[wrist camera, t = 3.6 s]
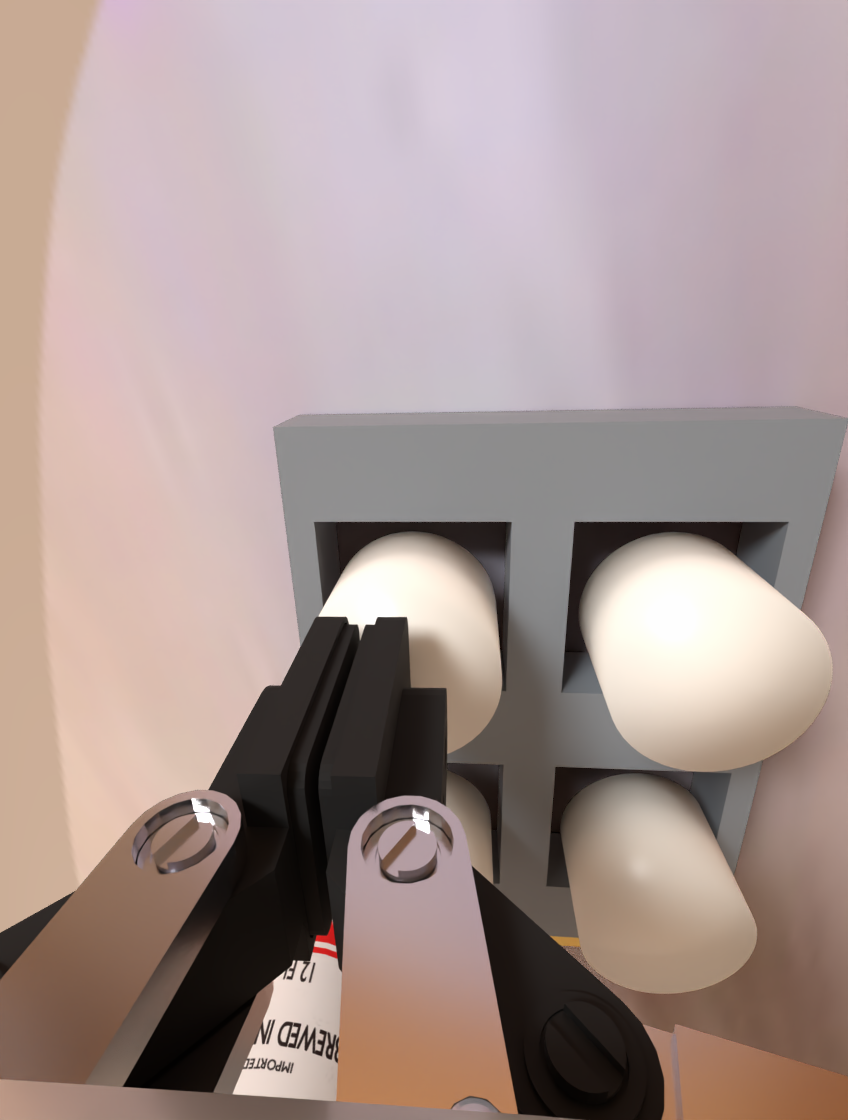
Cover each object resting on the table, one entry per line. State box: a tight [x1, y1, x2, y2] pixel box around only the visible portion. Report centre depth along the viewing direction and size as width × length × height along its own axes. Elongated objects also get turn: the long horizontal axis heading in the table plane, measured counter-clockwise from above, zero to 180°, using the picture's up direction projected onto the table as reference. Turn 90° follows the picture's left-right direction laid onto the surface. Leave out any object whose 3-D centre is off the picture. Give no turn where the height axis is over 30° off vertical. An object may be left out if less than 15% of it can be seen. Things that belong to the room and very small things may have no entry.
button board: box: [273, 407, 848, 947], centre depth 16 cm, size 12×18×2 cm, turn 1°
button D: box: [318, 531, 502, 754], centre depth 12 cm, size 4×4×3 cm
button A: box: [560, 773, 757, 994], centre depth 15 cm, size 4×4×3 cm
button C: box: [579, 532, 833, 772], centre depth 12 cm, size 4×4×3 cm
